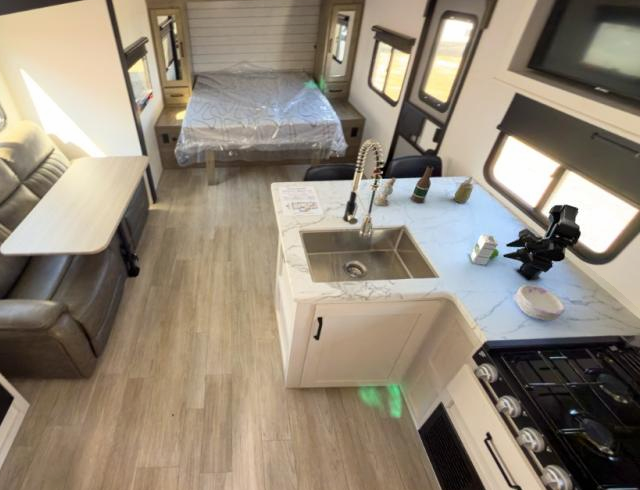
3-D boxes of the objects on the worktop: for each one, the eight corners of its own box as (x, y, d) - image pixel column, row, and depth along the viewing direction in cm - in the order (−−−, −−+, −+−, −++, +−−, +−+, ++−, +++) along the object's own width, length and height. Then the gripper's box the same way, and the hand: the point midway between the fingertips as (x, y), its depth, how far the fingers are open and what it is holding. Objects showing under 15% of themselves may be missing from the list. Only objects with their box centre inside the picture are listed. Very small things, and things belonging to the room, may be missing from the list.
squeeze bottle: (449, 198, 204) (460, 174, 193) (458, 195, 207) (469, 172, 196) (461, 205, 198) (473, 181, 188) (469, 202, 201) (482, 178, 190)
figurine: (387, 208, 197) (396, 180, 185) (373, 204, 200) (381, 177, 188) (389, 200, 203) (398, 173, 191) (376, 197, 206) (384, 170, 195)
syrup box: (485, 265, 158) (499, 244, 149) (472, 263, 159) (485, 241, 151) (481, 257, 162) (495, 236, 154) (468, 255, 164) (481, 234, 155)
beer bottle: (411, 202, 201) (424, 169, 187) (410, 195, 207) (422, 163, 193) (424, 204, 200) (438, 171, 185) (422, 197, 206) (436, 165, 191)
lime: (498, 259, 161) (503, 251, 158) (489, 260, 161) (494, 253, 157) (489, 252, 165) (494, 244, 162) (481, 253, 165) (485, 246, 162)
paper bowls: (535, 294, 143) (545, 283, 139) (563, 324, 131) (575, 313, 127) (502, 295, 143) (511, 284, 138) (528, 325, 131) (538, 314, 126)
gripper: (540, 218, 143) (499, 226, 155) (536, 239, 132) (492, 246, 144) (552, 239, 143) (510, 245, 156) (549, 262, 132) (505, 267, 144)
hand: (504, 250), depth 150 cm, fingers open, 9 cm apart
